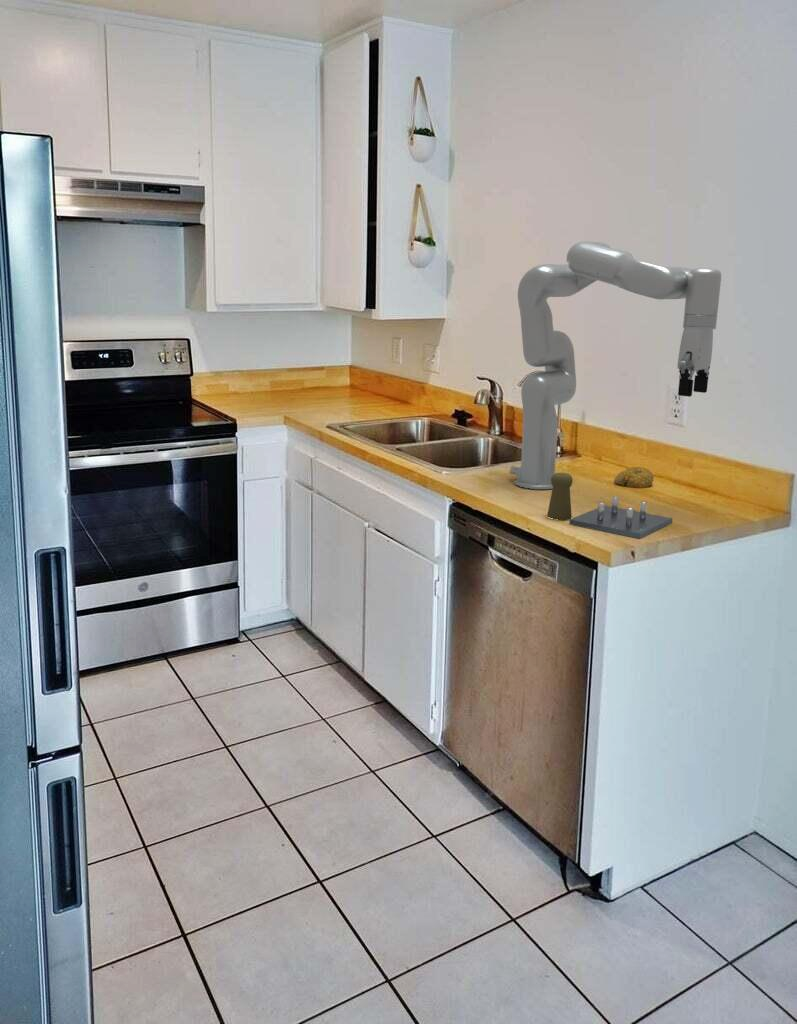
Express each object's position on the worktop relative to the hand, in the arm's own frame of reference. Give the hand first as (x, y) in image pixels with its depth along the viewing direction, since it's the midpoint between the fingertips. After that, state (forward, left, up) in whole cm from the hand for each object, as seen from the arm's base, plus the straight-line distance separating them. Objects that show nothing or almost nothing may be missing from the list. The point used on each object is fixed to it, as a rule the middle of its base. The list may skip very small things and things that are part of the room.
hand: (692, 394), depth 221 cm
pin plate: (-7, -19, -30) cm, 36 cm away
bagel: (-23, +22, -31) cm, 44 cm away
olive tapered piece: (-21, -24, -30) cm, 44 cm away
